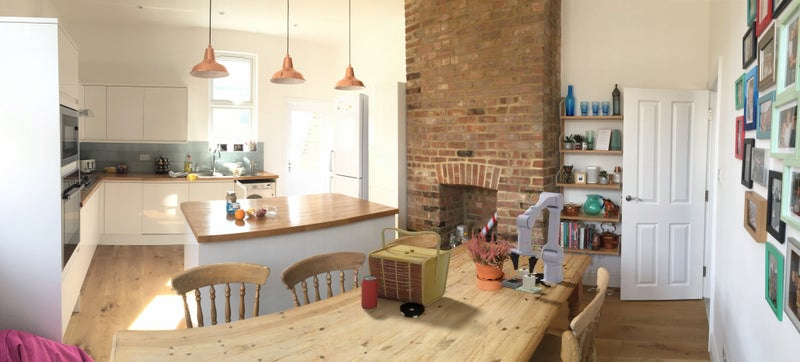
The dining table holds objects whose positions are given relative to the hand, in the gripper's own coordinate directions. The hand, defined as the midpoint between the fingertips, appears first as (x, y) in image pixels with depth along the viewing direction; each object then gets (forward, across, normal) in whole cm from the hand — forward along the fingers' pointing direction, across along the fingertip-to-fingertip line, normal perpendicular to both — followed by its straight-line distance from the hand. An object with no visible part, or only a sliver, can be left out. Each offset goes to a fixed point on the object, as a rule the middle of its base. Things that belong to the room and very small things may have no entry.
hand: (523, 271), depth 234 cm
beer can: (+10, -35, -62) cm, 72 cm away
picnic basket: (+10, -32, -41) cm, 53 cm away
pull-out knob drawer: (+10, -8, +15) cm, 20 cm away
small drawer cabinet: (+10, -8, +11) cm, 17 cm away
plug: (+10, 0, +5) cm, 11 cm away
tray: (+10, 0, +5) cm, 11 cm away
